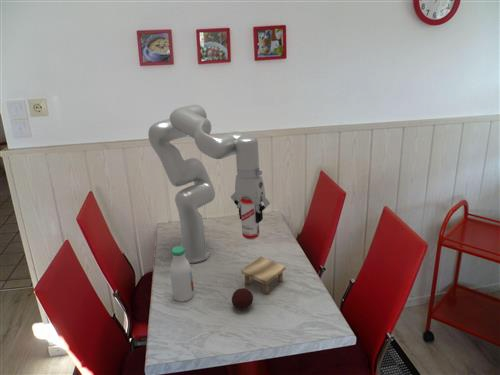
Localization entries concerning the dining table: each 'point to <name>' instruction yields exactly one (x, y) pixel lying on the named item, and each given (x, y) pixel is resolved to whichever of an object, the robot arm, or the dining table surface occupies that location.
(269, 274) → the stool
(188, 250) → the robot arm
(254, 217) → the beer can
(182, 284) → the milk bottle
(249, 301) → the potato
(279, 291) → the dining table surface
